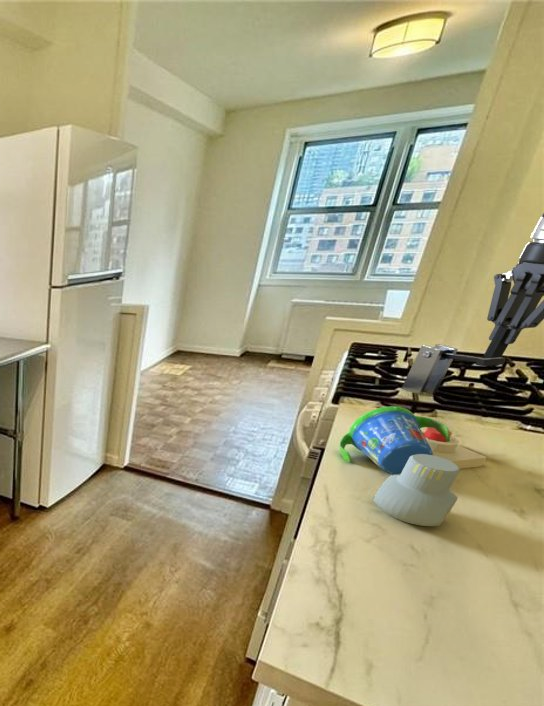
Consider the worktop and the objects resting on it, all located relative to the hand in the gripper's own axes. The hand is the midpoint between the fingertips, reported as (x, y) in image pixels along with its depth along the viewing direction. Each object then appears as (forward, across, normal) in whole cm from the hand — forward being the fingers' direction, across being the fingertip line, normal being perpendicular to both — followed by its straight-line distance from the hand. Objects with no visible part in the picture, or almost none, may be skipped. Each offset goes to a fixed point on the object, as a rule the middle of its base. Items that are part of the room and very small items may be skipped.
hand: (492, 356), depth 107 cm
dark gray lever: (+3, -5, 0) cm, 6 cm away
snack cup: (+10, +22, -42) cm, 49 cm away
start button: (+10, +15, -28) cm, 33 cm away
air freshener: (+14, +32, -52) cm, 62 cm away
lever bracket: (+14, -11, 0) cm, 17 cm away
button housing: (+14, +15, -28) cm, 35 cm away
